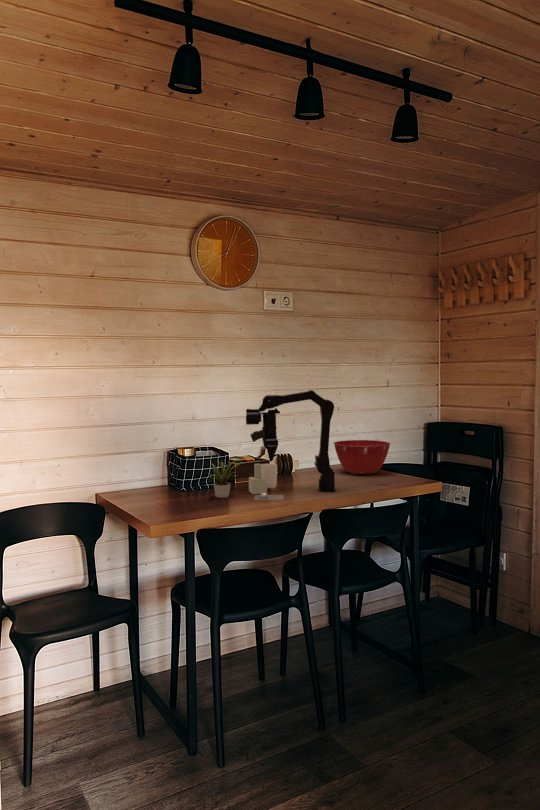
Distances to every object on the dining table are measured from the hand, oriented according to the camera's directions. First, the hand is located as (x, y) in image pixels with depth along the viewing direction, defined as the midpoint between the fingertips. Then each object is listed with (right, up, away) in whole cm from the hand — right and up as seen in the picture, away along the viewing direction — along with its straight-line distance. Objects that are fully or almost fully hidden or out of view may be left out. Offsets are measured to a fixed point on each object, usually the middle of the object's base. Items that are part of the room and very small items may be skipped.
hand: (270, 459), depth 277 cm
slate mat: (-1, -15, -17) cm, 23 cm away
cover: (-5, -14, -7) cm, 17 cm away
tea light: (-3, -14, -18) cm, 23 cm away
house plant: (-19, -15, -14) cm, 28 cm away
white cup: (-1, -13, +9) cm, 16 cm away
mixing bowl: (+46, -11, +45) cm, 65 cm away
